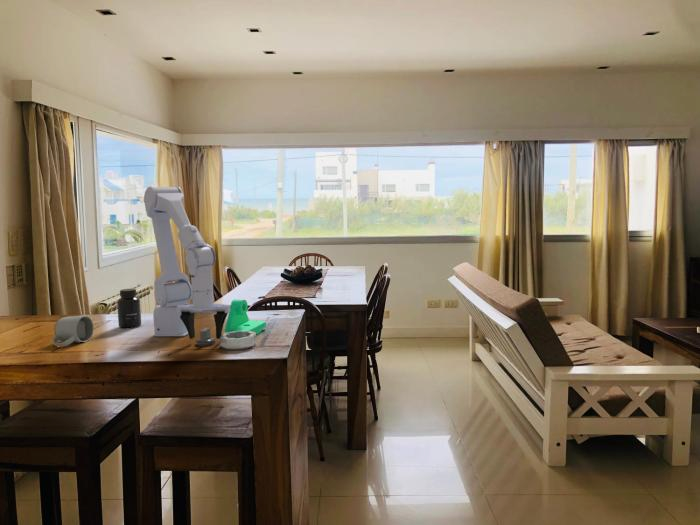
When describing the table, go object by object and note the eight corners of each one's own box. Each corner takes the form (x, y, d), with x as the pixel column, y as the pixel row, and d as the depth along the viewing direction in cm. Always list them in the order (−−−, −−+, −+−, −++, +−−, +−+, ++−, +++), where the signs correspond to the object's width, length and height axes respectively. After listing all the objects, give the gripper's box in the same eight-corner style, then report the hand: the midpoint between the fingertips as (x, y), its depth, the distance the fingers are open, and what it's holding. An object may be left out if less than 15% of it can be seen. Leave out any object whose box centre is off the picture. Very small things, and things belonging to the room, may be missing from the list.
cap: (193, 346, 151) (192, 331, 151) (200, 341, 156) (199, 327, 156) (211, 346, 151) (211, 331, 150) (217, 341, 156) (217, 327, 155)
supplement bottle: (131, 329, 172) (128, 292, 170) (114, 328, 174) (111, 291, 172) (146, 324, 178) (143, 288, 177) (129, 323, 180) (126, 287, 179)
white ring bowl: (217, 350, 147) (216, 339, 146) (227, 340, 156) (227, 330, 155) (250, 350, 146) (249, 339, 145) (258, 340, 155) (258, 330, 154)
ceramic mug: (71, 337, 164) (68, 312, 163) (95, 338, 162) (92, 313, 161) (45, 348, 154) (42, 321, 153) (70, 349, 152) (67, 322, 151)
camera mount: (248, 339, 157) (246, 304, 156) (225, 338, 159) (223, 303, 158) (267, 329, 168) (266, 296, 167) (245, 328, 171) (243, 295, 169)
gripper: (171, 293, 148) (174, 341, 150) (223, 292, 147) (226, 341, 149) (181, 288, 155) (184, 335, 157) (231, 287, 154) (234, 334, 156)
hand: (205, 337), depth 153 cm, fingers open, 7 cm apart
